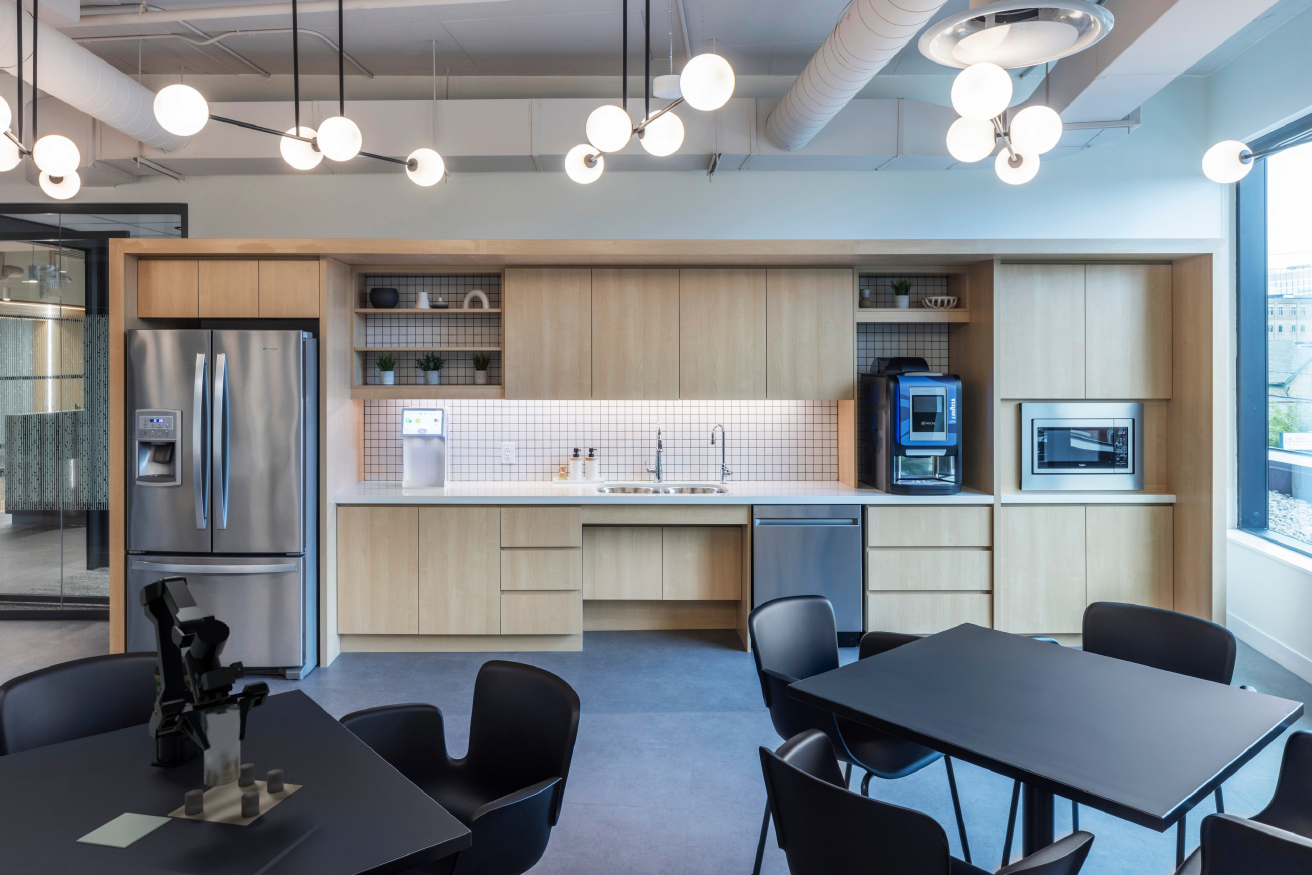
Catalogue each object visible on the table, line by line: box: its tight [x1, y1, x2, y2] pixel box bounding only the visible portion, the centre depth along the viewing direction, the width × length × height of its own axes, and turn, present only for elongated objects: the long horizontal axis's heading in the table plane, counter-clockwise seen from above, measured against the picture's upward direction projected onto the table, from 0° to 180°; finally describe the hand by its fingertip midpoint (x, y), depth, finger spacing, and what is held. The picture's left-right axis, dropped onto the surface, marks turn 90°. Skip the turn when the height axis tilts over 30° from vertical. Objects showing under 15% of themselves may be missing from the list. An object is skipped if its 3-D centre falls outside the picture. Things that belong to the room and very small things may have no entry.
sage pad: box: [76, 812, 172, 849], centre depth 140 cm, size 10×10×1 cm
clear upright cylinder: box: [203, 705, 241, 787], centre depth 148 cm, size 6×6×13 cm
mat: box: [166, 762, 303, 826], centre depth 152 cm, size 17×16×4 cm
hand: (224, 744), depth 147 cm, fingers closed on clear upright cylinder, 6 cm apart
